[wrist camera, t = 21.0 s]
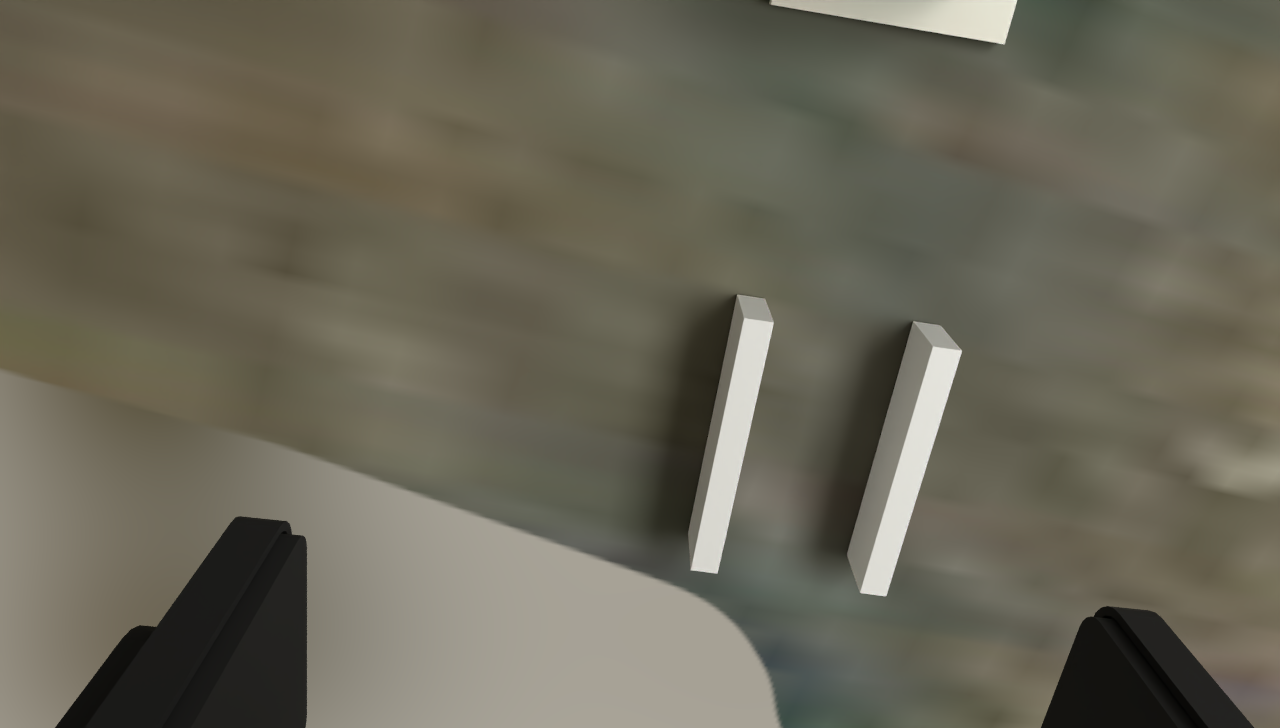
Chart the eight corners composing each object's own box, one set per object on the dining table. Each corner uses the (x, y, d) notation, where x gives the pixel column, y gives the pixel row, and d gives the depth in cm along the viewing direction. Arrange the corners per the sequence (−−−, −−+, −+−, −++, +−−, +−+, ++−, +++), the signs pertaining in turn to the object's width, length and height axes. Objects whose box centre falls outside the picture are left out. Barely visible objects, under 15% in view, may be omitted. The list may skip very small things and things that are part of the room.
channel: (687, 533, 44) (690, 569, 42) (737, 294, 40) (744, 318, 37) (871, 558, 45) (886, 596, 42) (940, 325, 40) (961, 351, 38)
